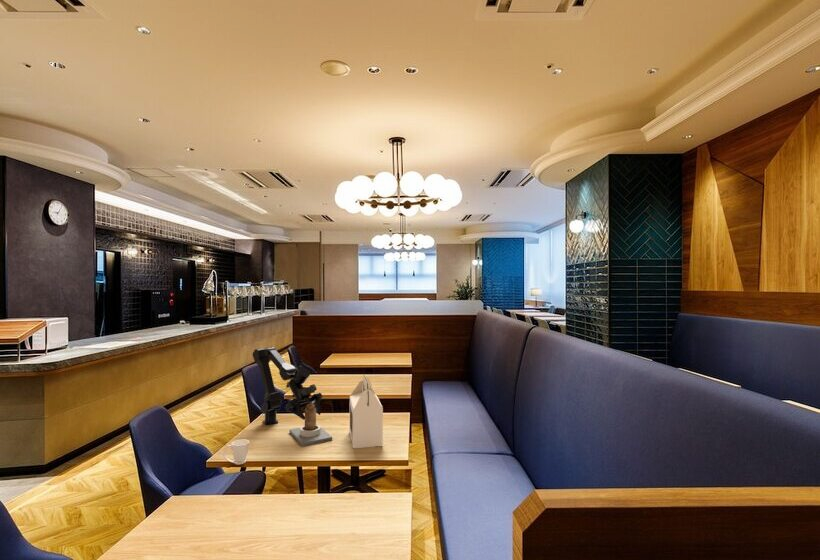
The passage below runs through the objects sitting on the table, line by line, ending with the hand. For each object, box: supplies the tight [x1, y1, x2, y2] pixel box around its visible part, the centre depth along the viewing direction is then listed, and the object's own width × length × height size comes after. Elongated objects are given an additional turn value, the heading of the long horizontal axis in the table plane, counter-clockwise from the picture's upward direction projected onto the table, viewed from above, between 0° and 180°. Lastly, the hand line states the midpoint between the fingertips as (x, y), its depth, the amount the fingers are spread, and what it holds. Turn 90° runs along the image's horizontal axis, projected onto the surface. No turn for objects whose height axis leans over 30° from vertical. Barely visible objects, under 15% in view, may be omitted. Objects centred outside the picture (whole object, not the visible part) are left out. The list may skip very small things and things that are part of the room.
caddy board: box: [288, 424, 333, 447], centre depth 198 cm, size 20×14×4 cm
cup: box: [222, 438, 250, 466], centre depth 169 cm, size 7×10×8 cm
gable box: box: [349, 374, 384, 449], centre depth 196 cm, size 22×13×28 cm, turn 12°
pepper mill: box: [304, 402, 317, 431], centre depth 198 cm, size 5×5×14 cm
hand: (312, 416), depth 197 cm, fingers open, 9 cm apart
